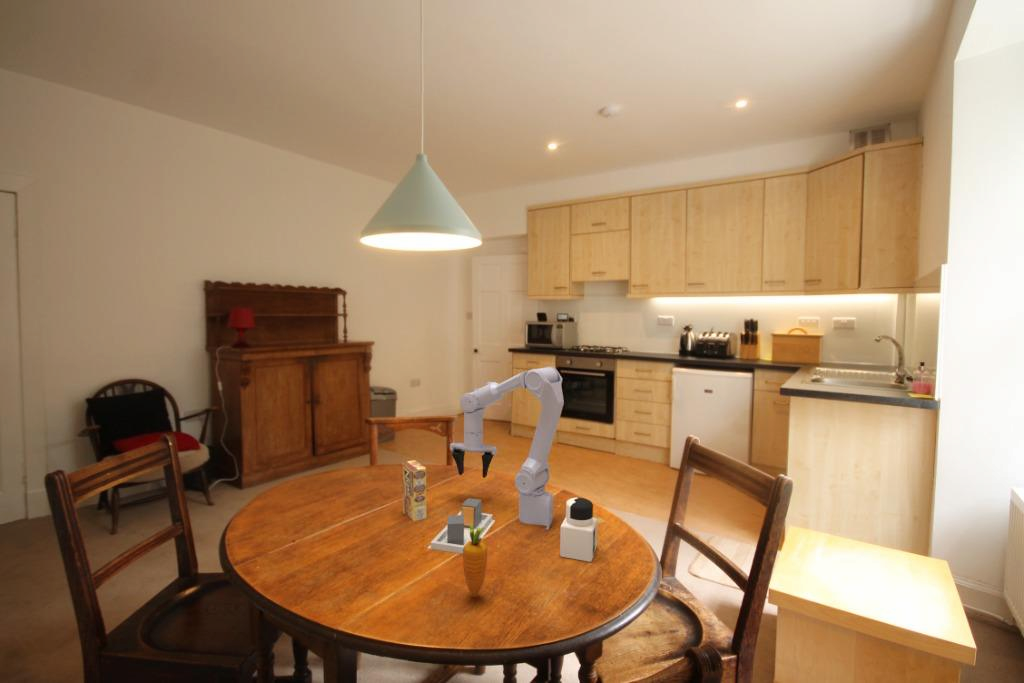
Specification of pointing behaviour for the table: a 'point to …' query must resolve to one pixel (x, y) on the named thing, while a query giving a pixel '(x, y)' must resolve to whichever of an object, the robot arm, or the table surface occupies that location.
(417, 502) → the candy box
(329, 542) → the table surface
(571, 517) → the container
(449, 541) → the grey block orange top
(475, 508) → the grey toy block
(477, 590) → the carrot
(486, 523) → the white tray
